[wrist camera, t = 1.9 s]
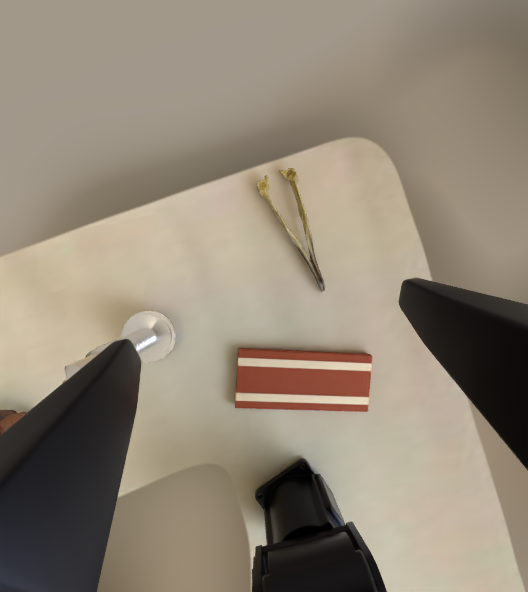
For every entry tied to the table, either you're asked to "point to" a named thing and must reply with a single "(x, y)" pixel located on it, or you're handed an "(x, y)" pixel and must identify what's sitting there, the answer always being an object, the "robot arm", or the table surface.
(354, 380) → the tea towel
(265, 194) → the tongs
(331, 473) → the table surface
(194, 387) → the table surface
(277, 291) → the table surface
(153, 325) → the screw
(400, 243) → the table surface
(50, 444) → the robot arm
